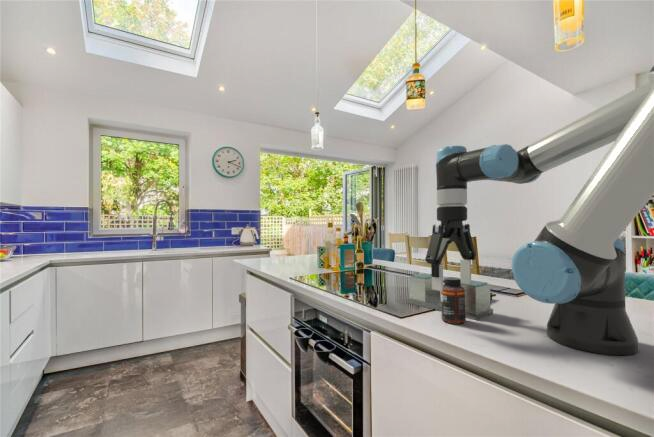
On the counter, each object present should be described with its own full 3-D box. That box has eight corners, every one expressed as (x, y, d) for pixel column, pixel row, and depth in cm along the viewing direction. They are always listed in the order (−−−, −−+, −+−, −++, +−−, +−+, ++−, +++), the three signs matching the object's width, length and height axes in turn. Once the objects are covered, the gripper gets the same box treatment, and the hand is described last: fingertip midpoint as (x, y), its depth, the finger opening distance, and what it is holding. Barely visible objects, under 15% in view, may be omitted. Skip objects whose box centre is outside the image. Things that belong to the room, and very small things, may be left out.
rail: (493, 314, 89) (492, 282, 89) (476, 320, 83) (476, 286, 83) (424, 298, 107) (423, 272, 107) (407, 303, 102) (406, 275, 102)
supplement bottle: (467, 320, 84) (466, 277, 84) (463, 326, 79) (463, 281, 79) (443, 316, 87) (443, 275, 87) (438, 322, 82) (438, 278, 82)
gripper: (463, 207, 94) (463, 278, 94) (410, 205, 79) (411, 290, 79) (488, 206, 88) (489, 282, 88) (436, 204, 73) (437, 296, 73)
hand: (452, 286), depth 83 cm, fingers open, 13 cm apart
